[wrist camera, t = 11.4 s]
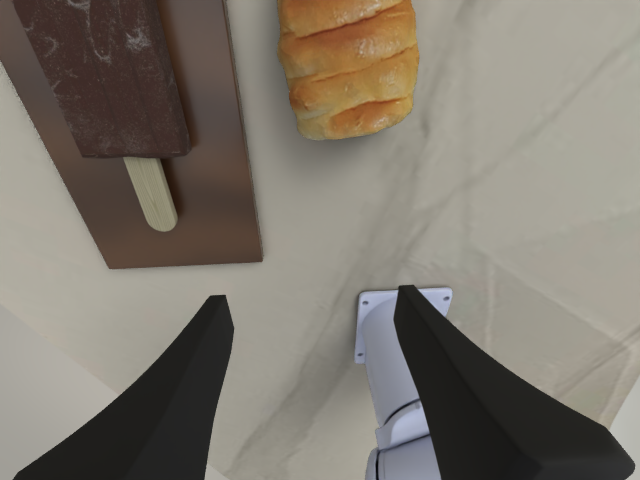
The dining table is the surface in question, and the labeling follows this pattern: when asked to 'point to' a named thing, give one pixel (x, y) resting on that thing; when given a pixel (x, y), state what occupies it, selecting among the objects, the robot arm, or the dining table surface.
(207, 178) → the walnut board
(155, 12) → the ice cream bar
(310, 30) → the pastry
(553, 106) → the dining table surface
